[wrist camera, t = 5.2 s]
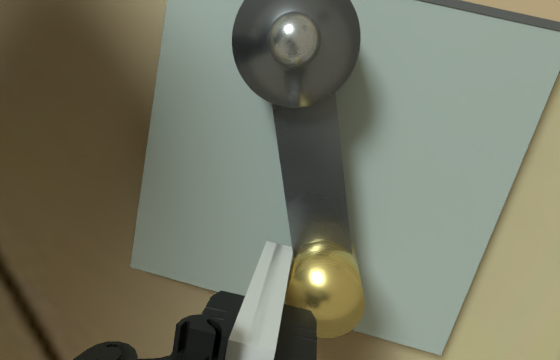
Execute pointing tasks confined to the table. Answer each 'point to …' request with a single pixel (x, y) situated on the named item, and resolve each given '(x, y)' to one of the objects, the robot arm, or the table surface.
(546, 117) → the table surface
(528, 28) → the door board
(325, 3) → the swing bar
